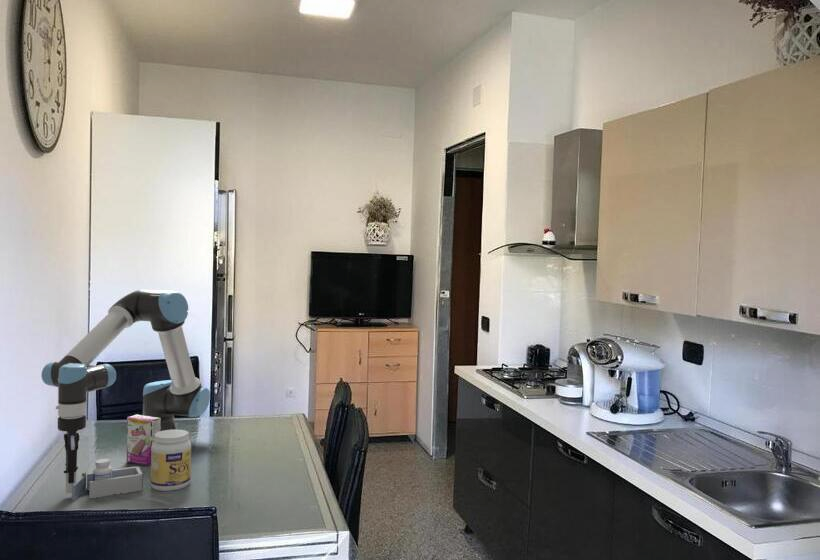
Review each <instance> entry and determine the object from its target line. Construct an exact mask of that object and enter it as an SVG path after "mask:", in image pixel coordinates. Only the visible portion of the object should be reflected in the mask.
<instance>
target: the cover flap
mask: <svg viewBox="0 0 820 560" xmlns="http://www.w3.org/2000/svg"><path fill="white" fill-rule="evenodd" d="M85 491H87V472H82V473H81V477H79V478H78V479H77V480H76V483H74V484H73V485H72V493H71V501H72V502H73V501H75V502H76V500H77V499H78V498H79V497H80V496H81V495H82V494H83V493H84V492H85Z"/></svg>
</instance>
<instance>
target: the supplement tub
mask: <svg viewBox="0 0 820 560" xmlns="http://www.w3.org/2000/svg"><path fill="white" fill-rule="evenodd" d="M189 439H190V436H189V431H188V430H184V429H178V430H164V431H160V432H157V433H155V435H154V441H155V442H154V443H153V444H152V447H151V466H150V486H151V488H152V489H154V490H156V491H162V492H170V491H171V492H173V491H176V490H177V491H178V490H181V489H183V488H185V487H188V486H189V484H190V483H191V476H192V475H191V469H192V465H191V464H192V463H191V462H192V443H191V441H190V440H189Z"/></svg>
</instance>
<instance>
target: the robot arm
mask: <svg viewBox="0 0 820 560" xmlns="http://www.w3.org/2000/svg"><path fill="white" fill-rule="evenodd" d="M188 311H189V304H188V301H187V299H186V297H185V295H184V294H182V293H181V292H180V291H179V292H178V291H175V290H169V289H166V290H155V289H138V290H134V291H132V292H130V293H128V294H127V295H125V296H123V297H121V298H120V299H119V300H117V301H116V302H114V304H112V306H111V307H109V309H108V310H107V315H105V317H104V318H102V319H101V320H100V321H99V322H98V324H96V325H95V326H94V327H93V328H92V329H91V330H90V331H89V332H88V333H87V334H86V335H85V336H84V337H83V338H82V339H81V340H80V341H79V342H78V343H77V344H76V345H75V346H73V348H71V350H69V352H67V353H66V354H65V356H64V357H62V358H61V359H60V360H59V361H57V362H56V361H54V362H52V361H51V362H49V363H47V364H45V365H44V367H43V368H42V371H41V380H42V382H43V383H44V384H45V385H47V386H51V387H56V388H57V390H58V391H57V394H58V395H57V396H58V397H57V399H58V400H57V404H58V405H56V406H55V410H58V411H57V415H58V416H59V417H58V418H57V430H58V431H60V432H66V433H64V434H63V439H64V449H65V450H64V451H65V470H63V473H64V474H65V490H64V491H65V494H72V485H73V484H74V483H76V482H77V471H78V470H79V466H77V463H78V450H79V441H80V434H79V432H78V431H81V430H83V429H85V428H86V427H87V426H86V424H87V421H86V420H87V415H86V414H87V393H90V392H95V391H99V390H102V389H103V390H104V389H106V388H108V387H110V386H112V385H113V384H114V383H115V382H116V380H117V371H116V369H115V367H114V366H113V365H111V364H109V363H103V364H102V363H99V364H98V365H93V364H92V363H93V362H94V360H95V359H97V357H99V356H100V354H101V353H102V352H104V350H105V349H106V348H107V347H108V346H109V345H110V344H111V343H112V342H113V341H114V340H115V339H116V338H117V337H118V336H119V335H120V334H121V333H122V331H124V330H125V328H126V329H128V328H130V327H132V326H133V324H135V323H137V322H141V321H142V322H150V324H151V325H150V326H151V329H152V330H153V331H154V332H156V333H158V338H159V340H160V344H161V348H162V351H163V356H164V359H165V363H166V365H167V369H168V374H169V378H170V379H167V380H159V381H154V382H149V383H146V384H145V385H144V387H143V393H142V415H144V416H150V417H157V418H161V431H164V430H179V429H178V426H177V424H176V420H175V416H180V417H181V416H182V417H190V418H192V417H197V418H198V417H202V416H203V414H205V413H206V411H207V409H208V408H209V404H210V401H211V392H210V389H209V388H207V387H205V386H202V383H201V380H200V379H199V378H198V377H196V375H195V372H194V368H193V365H192V361H191V357H190V353H189V349H188V345H187V341H186V337H185V333H184V331H183V330H184V329H183V326H184V324H185V322H186V319H187V317H188V315H189V312H188ZM91 364H92V365H91Z"/></svg>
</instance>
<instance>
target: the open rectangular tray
mask: <svg viewBox="0 0 820 560" xmlns="http://www.w3.org/2000/svg"><path fill="white" fill-rule="evenodd" d="M143 490H144V474H143V471H142V470H141V468H140V467H139V465H138V466H137V465H136V466H130V467H122V468H116V469H112V478H109V479H103V480H96V481H93V472H89V473H87V472H86V491H88V492H89V493H88V497H89V499H90V500H91V498H92V499H97V498H96V497H98V498H102V497H101V496H104V497H107V496H106V495H110V496H113V495H112V494H116V495H121V494H120V493H122V494H127V493H128V492H129V493H134V492H140V491H143ZM129 493H128V494H129Z"/></svg>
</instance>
